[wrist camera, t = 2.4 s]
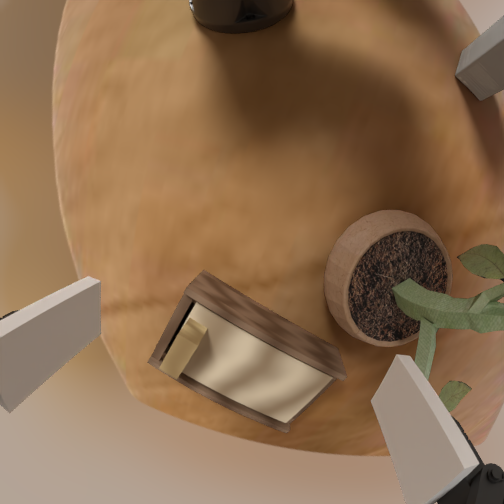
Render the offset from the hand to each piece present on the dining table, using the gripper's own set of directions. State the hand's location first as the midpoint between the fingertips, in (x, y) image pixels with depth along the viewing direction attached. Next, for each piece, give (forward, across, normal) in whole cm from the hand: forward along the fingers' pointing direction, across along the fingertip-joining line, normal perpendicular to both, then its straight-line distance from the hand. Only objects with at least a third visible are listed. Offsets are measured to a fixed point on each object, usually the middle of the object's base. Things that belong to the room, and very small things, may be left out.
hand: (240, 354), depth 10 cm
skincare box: (+24, +27, +37) cm, 51 cm away
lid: (+19, +1, -15) cm, 24 cm away
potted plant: (+24, +18, +2) cm, 31 cm away
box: (+24, +1, -15) cm, 29 cm away
